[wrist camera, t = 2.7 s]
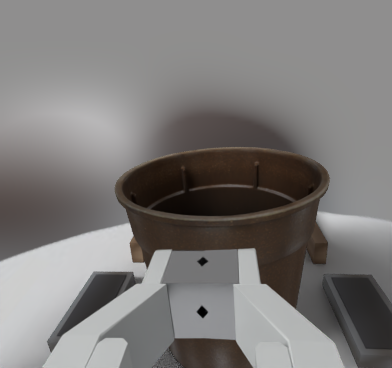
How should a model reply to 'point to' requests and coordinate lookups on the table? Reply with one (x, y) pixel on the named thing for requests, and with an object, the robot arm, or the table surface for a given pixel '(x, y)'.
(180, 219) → the plant pot
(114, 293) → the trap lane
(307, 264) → the table surface
